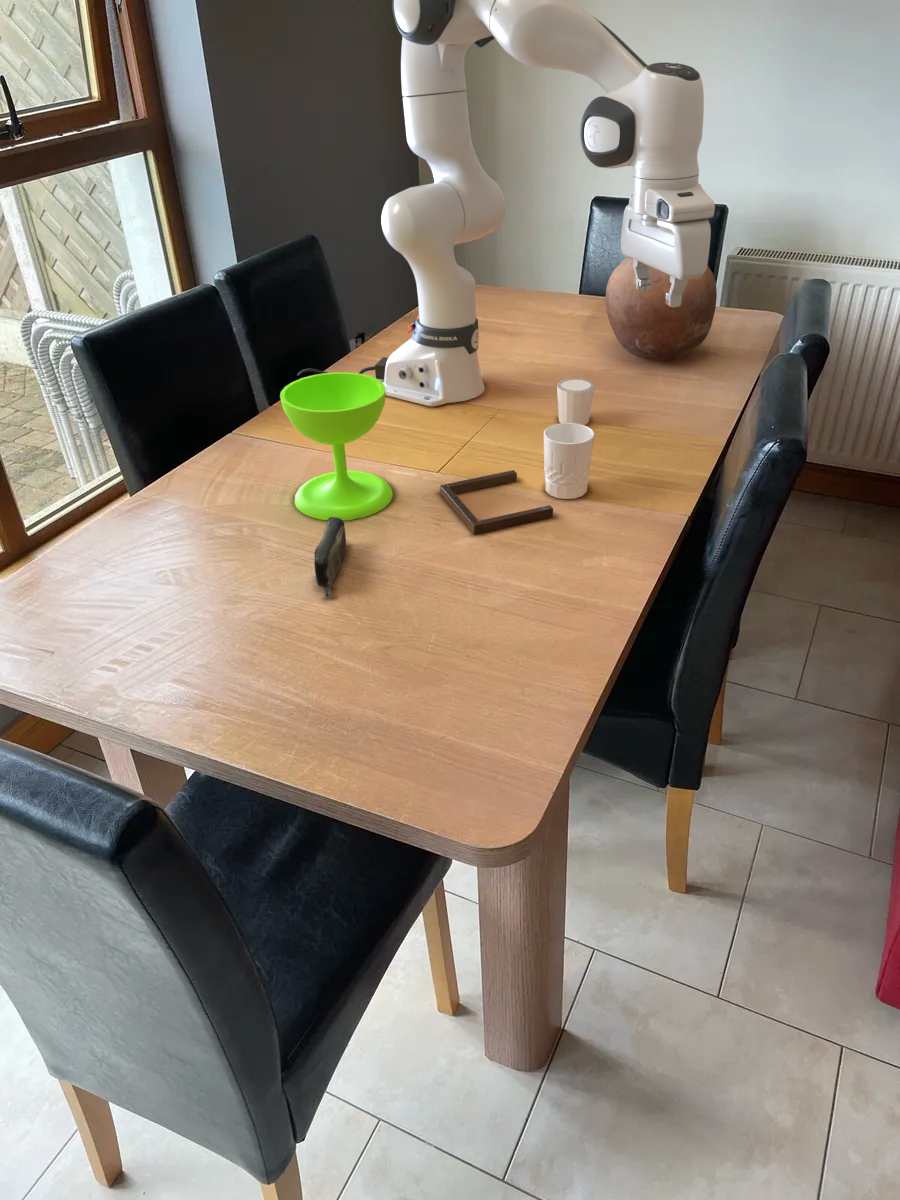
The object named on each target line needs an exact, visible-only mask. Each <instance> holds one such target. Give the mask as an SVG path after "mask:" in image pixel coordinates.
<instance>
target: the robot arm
mask: <svg viewBox="0 0 900 1200" xmlns="http://www.w3.org/2000/svg"><path fill="white" fill-rule="evenodd" d="M391 8H392V15H393V19H394V23H395V25H396V28H397V30H398V31H399V34H401V37H402V38H401V39H402V40H401V48H400V49H401V51H400V83H401V97H402V105H403V115H404V126H405V136H406V142H407V145H408V147H409V149H410V150H411V152H412V153H413V154H414V155H416V156H418V157H419V158H421V159H423V160H425V161H426V163H427V164H428V166H429V168H430V170H431V173H432V177H433V182H432V183H427V184H422V185H415V186H411V187H408V188H406V189H404V190H401V191H399V192H397V193H395V194H394V195H392V196H390V197H389V198H387V199H386V201H385V202H384V205H383V208H382V211H381V217H380V218H381V223H380V224H381V228H382V233H383V236H384V237H385V240H386V241H387V243H388V244H389V245H390V246H391V248H393V250H395V251H396V252H398V253H399V254H401V256H403V258H404V259H405V260H406V261H407V263H408V265H409V266H410V269H411V271H412V273H413V276H414V280H415V284H416V285H415V286H416V292H417V293H416V294H417V302H418V303H417V305H418V316H417V317H416V319H415V320H413V321H412V322H411V324H409V325H408V326H407V329H408V330H407V333H410V332H411V335H412V336H411V337H410V338H409V339H408V340H406V341H405V342H404V343H402V344H401V345H400V346H399V347H398V348H396V349H395V350H394V351H393V352H392V353H390V355H389V356H388V357H385V356H384V357H383V356H382V357H381V358H380V360H379V361H377V362H376V363H375V365H373V366H367V367H364V368H362V369H360V370H359V371H358V373H359V374H364V373H365V372H369V371H374V372H375V378H376V379H378V380H380V381H381V382H382V383H383V384H384V385H385V390H386V392H385V396H388V397H391V398H394V399H399V400H402V401H403V400H404V401H407V402H411V403H416V404H419V405H423V406H427V407H438V406H442V405H445V404H451V403H460V402H465V401H469V400H472V399H475V398H478V397H479V396H481V395H482V394H483V393H484V392H485V390H486V389H485V388H486V387H485V383H484V380H483V377H482V373H481V367H480V359H479V352H478V349H479V343H480V330H479V319H478V317H477V291H476V288H477V287H476V286H477V285H476V280H475V277H474V275H472V273H471V272H470V270H467V269H466V268H465V267H462V266H461V265H459V264H458V263H457V261H456V257H455V256H456V255H455V252H454V251H455V246H456V245H459V244H464V243H468V242H472V241H477V240H480V239H482V238H483V237H486V236H488V235H490V234H491V233H493V232H495V231H496V230H498V229H499V228H500V227H501V225H502V224H503V222H504V219H505V216H506V206H507V205H506V199H505V195H504V193H503V190H502V188H501V187H500V185H499V184H498V183H497V182H496V181H495V180H494V179H492V177H490V176H489V175H488V173H486V171H485V170H484V168H483V166H482V165H481V162H480V160H479V158H478V155H477V154H476V151H475V147H474V145H473V141H472V135H471V128H470V127H471V125H470V119H469V118H470V117H469V108H468V107H469V106H468V96H467V81H466V73H465V57H466V53H467V51H468V49H469V48H470V46H472V44H474V45H475V46H476V47H478V48H480V49H481V48H483V47H486V45H488V44H489V43H491V42H492V41H493V40H495V41H497V43H498V44H499V45H500V47H501V48H502V49H503V50H504V51H505V52H506V53H507V54H508V55H509V56H511V57H512V58H513V59H515V60H516V61H518V62H519V63H521V64H522V65H525V66H526V67H527V66H528V67H531V68H538V69H539V68H540V69H550V70H558V71H566V72H571V73H575V74H579V75H582V76H585V77H587V78H589V79H591V80H592V81H594V82H595V83H596V84H598V85H599V86H600V87H601V89H603V90H604V91H605V92H606V93H604V94H602V95H599V96H597V97H595V98H593V99H592V100H591V101H590V102H589V104H588V105H587V107H586V108H585V109H584V110H585V111H584V112H583V115H582V117H581V122H580V129H579V135H580V138H579V139H580V144H581V147H582V150H583V153H584V155H585V157H586V158H587V160H588V161H589V162H591V164H593V165H594V166H595V167H597V168H604V169H619V168H624V167H631V166H632V168H633V176H632V177H633V179H632V194H631V196H629V199H628V204H627V205H626V206H625V208H624V211H623V215H622V223H621V233H620V242H619V243H620V245H619V246H620V250H621V253H622V255H624V256H626V257H630V258H633V267H634V271H635V276H636V278H637V279H636V289H637V290H638V291H641V292H648V291H650V290H651V280H652V279H650V278H649V271H648V266H650V267H653V268H655V269H657V270H659V271H662V272H664V273H666V274H668V275H670V283H672V284H671V288H670V291H669V293H666V301H665V303H666V304H667V305H668V306H670V307H679V306H680V305H681V300H682V294H683V292H684V290H685V288H686V285H687V283H688V280H691V279H698V278H701V277H702V276H703V274H704V273H705V271H706V269H707V265H708V264H709V263H708V262H709V255H710V246H711V235H712V234H711V232H712V229H711V224H710V221H709V220H708V219H711V218H713V217H714V215H715V210H716V205H715V201H714V200H713V199H712V197H710V195H709V194H708V193H707V192H706V191H705V190H704V188H703V186H702V184H700V182H699V177H700V176H699V175H700V168H699V162H698V153H699V149H700V145H701V143H702V139H703V131H704V130H703V129H704V116H705V115H704V113H705V97H704V96H705V95H704V85H703V79H702V77H701V74H700V72H699V71H698V70H696V69H695V68H694V67H692V66H690V65H687V64H684V63H678V62H675V63H673V62H654V63H651V64H647V63H646V62H645V61H644V60H643V59H642V58H641V57H640V56H639V55H638V54H637V53H636V52H635V51H633V49H631V48H630V47H629V46H628V44H626V42H624V41H623V40H622V39H621V38H620V37H619V36H618V35H617V34H616V33H614V32H613V30H612V29H611V28H609V27H608V26H607V25H605V24H604V23H603V22H601V21H600V20H599V19H598V18H596V16H594V15H592V14H591V12H589V11H588V10H587V9H585V8H583V6H581V5H580V4H579V2H577V1H576V0H391ZM305 373H314V374H315V373H316V374H323V373H330V372H328V371H324V370H320V369H316V368H305V369H302V370H301V371H299V372H298V373H297V374H296V376H298V377H300V376H302V375H304V374H305Z"/></svg>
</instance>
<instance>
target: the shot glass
mask: <svg viewBox="0 0 900 1200" xmlns="http://www.w3.org/2000/svg"><path fill="white" fill-rule="evenodd" d="M556 392H557V393H556V394H557V395H556V396H557V412H558V413H557V414H558V422H559V424H560V423H576V424H581V425H584V426H586V425H587V424H588V423H589V421H590V417H591V411H592V404H593V398H594V392H595V384H594V382H592V381H590V380H588V379H583V378H566V379H562V380H560V381H558V382H557V384H556Z"/></svg>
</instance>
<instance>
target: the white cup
mask: <svg viewBox="0 0 900 1200" xmlns="http://www.w3.org/2000/svg"><path fill="white" fill-rule="evenodd" d="M594 441H595V431H594V430H593V429H592V428H591V427H589V426H587V425H581V424H576V423H560V422H559V423H555V424H552V425H550V426H547V427H546V428H545V429H544V430H543V468H544V469H543V470H544V479H545V485H544V486H545V487H544V488H545V492H546V493H547V494H548V496H550V497H553V498H556V499H562V500H573V499H578V498H580V497H581V498H582V497H583V496H584V495H585V494H586V493H588V483H589V482H588V481H589V477H590V471H591V466H592V457H593V450H594Z"/></svg>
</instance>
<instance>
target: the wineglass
mask: <svg viewBox="0 0 900 1200" xmlns="http://www.w3.org/2000/svg"><path fill="white" fill-rule="evenodd" d="M385 392H386V390H385V385H384V384H383V383H382V382H381V381H380V380H378V379H376V377H375V376H373V375H372V376H371V375H368V374H364V373H363V374H359V372H345V371H337V372H329V373H323V374H319V373H316V374H313V375H308V376H305V377H300V378H299V379H296V380H294V381H292V382H290V383H288V384H287V385H285V386H284V387H283V388H282V389H281V391H280V394H279V399H280V402H281V403H280V404H281V406H282V410H283V412H284V414H285V415H286V417H287V418H288V420H289V422H290V423H291V425H292V427H294V428H295V429H296V430H297V431H298V432H299V433H300V434H302V435H303V436H304V437H306V438H308V439H310V440H312V441H314V442H317V443H320V444H324V445H331V446H332V454H333V464H334V471H332V472H326V473H323V474H321V475H316V476H314V477H313V478H311V479H309V480H307V481H305V483H304V484H302V485H301V486H300V487H299V488H298V490H297V492H296V493H295V495H294V506H295V507H296V509H297V510H298V511H300V512H301V513H302V514H303V515H305V516H307V517H310V518H312V519H317V520H322V521H327V520H328V519H329V518H330V517H337V518H340V519H342V520H343V522H344V521H352V520H359V519H362V518H366V517H369V516H372V515H374V514H376V513H378V512H380V511H382V510H383V509H385V508H386V507H387V506H388V505H389V504H390V503H391V501H392V499H393V497H394V495H393V489H392V487H391V486H390V485H389V483H388V481H386V480H385V479H383V478H382V477H380V476H379V475H375V474H374V473H370V472H366V471H360V470H348V466H347V456H346V444H348V443H351V442H355V441H356V440H358V439H360V438H362V437H363V436H365V435H366V434H368V433H369V431H371V430H372V428H373V427H374V426H375V425H376V423H377V422H378V421H379V418H381V415H382V412H383V409H384V406H385V404H386V403H385V402H386V395H385Z"/></svg>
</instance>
